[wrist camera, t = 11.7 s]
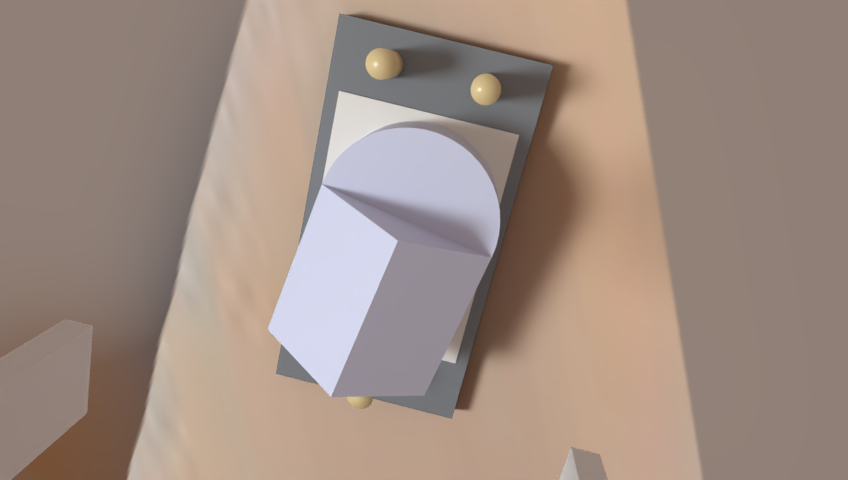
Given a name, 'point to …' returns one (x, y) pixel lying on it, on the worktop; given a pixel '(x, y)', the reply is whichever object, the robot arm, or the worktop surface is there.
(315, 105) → the worktop surface
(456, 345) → the pin plate
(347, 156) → the wedge on round base
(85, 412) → the robot arm
